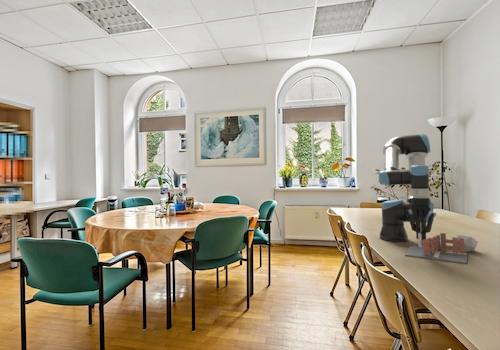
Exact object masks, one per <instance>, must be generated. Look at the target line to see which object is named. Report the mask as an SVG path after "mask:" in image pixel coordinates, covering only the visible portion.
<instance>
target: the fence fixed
mask: <svg viewBox="0 0 500 350" xmlns="http://www.w3.org/2000/svg"><path fill="white" fill-rule="evenodd" d="M439 235H440V249H441V252H444V253H446V250H453V253H458V251H460V253H461V254H465V248H464V238H459V240H457V237H454V236H453V237H451V239H448V238H447V234H446V232H440V234H439ZM448 244H452V245H448ZM457 244H459V246H460V247H458V246H457Z"/></svg>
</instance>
